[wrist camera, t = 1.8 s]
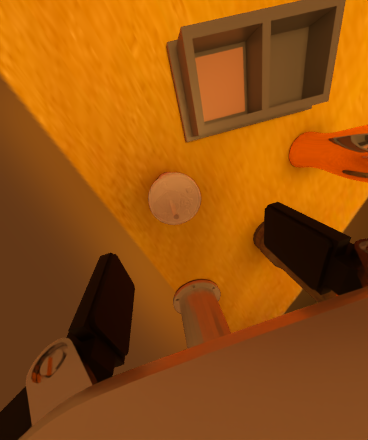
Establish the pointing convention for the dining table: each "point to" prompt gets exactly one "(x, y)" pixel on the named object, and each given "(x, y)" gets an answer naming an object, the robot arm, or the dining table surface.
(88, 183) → the dining table surface
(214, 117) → the drink carrier
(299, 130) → the dining table surface
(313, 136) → the beer glass
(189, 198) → the smoothie
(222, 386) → the robot arm
